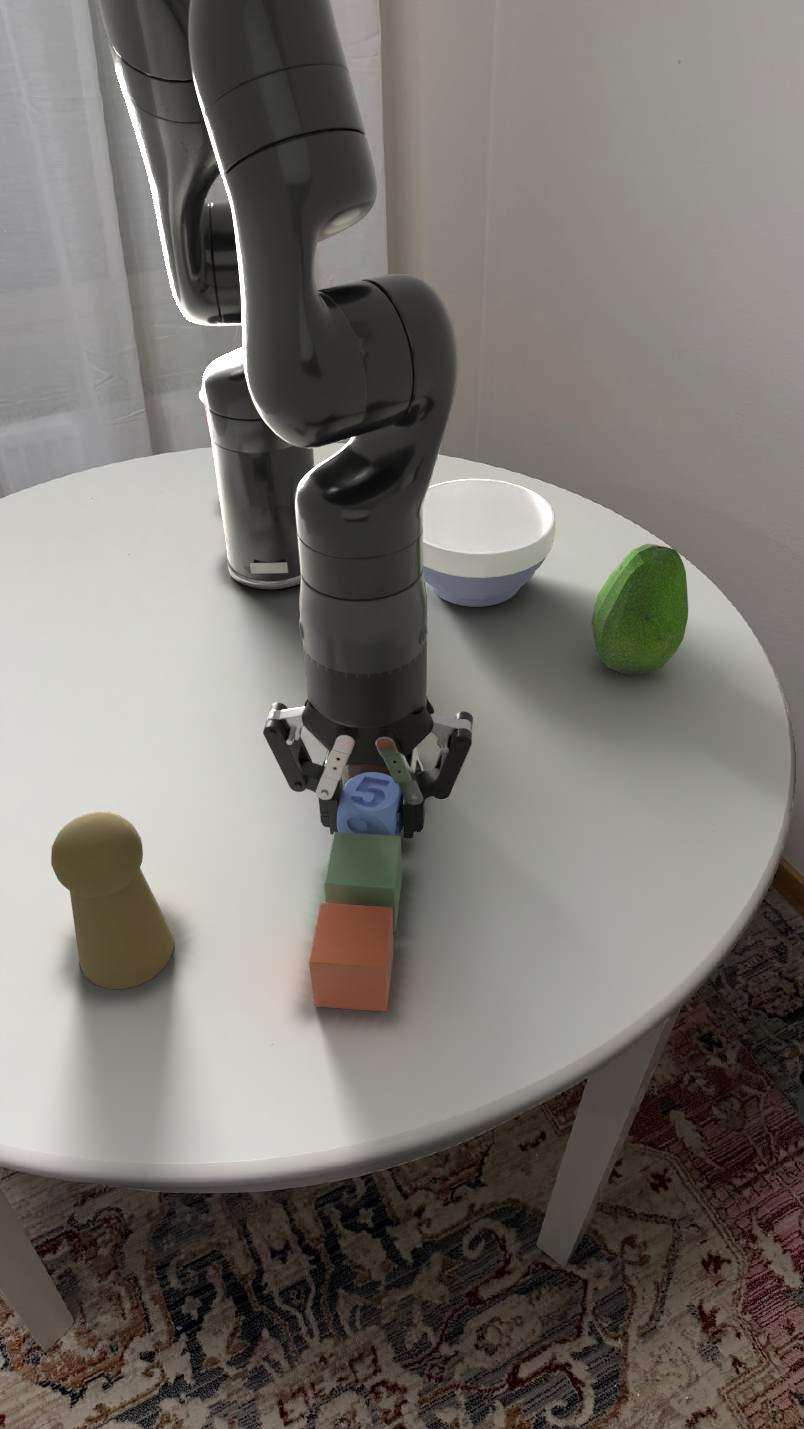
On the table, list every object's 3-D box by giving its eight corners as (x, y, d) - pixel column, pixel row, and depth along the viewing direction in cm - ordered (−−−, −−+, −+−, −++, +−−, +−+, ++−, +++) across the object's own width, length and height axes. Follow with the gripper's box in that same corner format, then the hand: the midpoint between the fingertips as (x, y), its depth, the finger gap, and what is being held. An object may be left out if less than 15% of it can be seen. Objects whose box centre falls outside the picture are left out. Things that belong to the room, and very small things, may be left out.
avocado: (692, 686, 85) (719, 565, 77) (604, 699, 84) (623, 577, 76) (655, 633, 91) (676, 515, 83) (572, 644, 90) (587, 526, 82)
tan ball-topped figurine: (87, 916, 67) (47, 799, 60) (178, 909, 68) (149, 792, 61) (72, 993, 63) (27, 877, 56) (169, 985, 63) (138, 869, 56)
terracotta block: (324, 946, 65) (320, 902, 62) (393, 951, 65) (392, 906, 62) (313, 1006, 62) (308, 962, 59) (386, 1012, 61) (385, 967, 58)
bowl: (539, 543, 103) (545, 475, 99) (560, 624, 92) (568, 553, 87) (398, 547, 103) (397, 479, 98) (402, 629, 92) (401, 557, 87)
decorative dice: (407, 816, 73) (407, 776, 70) (392, 857, 70) (391, 817, 67) (355, 806, 73) (352, 766, 71) (337, 846, 70) (334, 805, 68)
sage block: (337, 876, 70) (333, 831, 67) (402, 879, 69) (401, 835, 66) (328, 928, 66) (323, 883, 63) (395, 932, 66) (394, 887, 63)
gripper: (485, 601, 63) (475, 796, 74) (259, 592, 64) (283, 785, 75) (482, 675, 57) (471, 874, 68) (234, 664, 58) (263, 862, 69)
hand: (373, 827), depth 71 cm, fingers closed on decorative dice, 4 cm apart
